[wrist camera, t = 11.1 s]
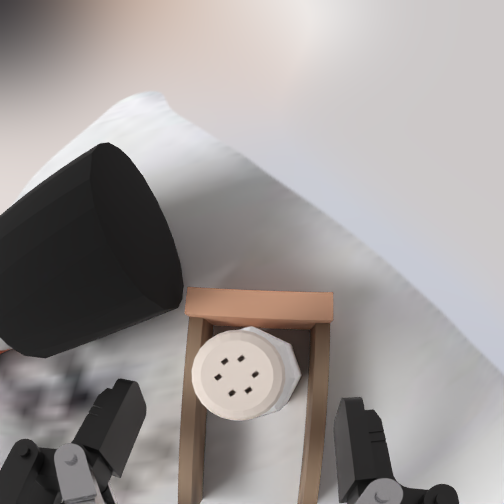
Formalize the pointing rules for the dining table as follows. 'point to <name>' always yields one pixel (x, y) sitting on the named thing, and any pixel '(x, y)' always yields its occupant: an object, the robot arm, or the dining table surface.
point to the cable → (84, 257)
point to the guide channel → (259, 316)
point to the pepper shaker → (245, 374)
